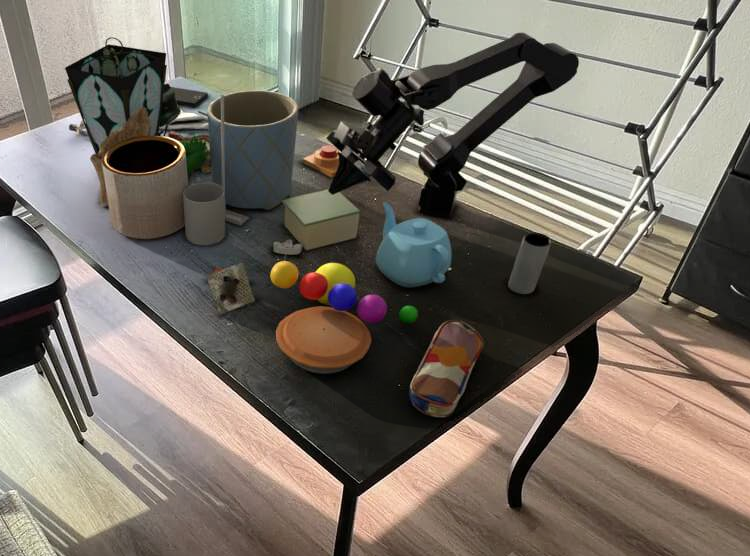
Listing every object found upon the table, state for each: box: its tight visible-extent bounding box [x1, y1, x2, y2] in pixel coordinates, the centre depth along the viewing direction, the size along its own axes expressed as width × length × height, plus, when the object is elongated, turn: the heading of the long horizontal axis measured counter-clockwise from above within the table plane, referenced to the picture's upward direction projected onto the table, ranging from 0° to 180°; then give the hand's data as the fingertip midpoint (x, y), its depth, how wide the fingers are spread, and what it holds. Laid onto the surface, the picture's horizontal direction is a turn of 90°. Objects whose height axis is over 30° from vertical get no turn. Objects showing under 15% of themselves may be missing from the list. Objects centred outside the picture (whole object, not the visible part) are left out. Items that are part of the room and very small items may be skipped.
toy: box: [180, 135, 209, 184], centre depth 150 cm, size 17×9×15 cm, turn 32°
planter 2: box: [206, 89, 299, 211], centre depth 149 cm, size 19×19×20 cm
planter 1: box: [102, 135, 190, 240], centre depth 144 cm, size 18×18×16 cm
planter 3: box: [507, 232, 553, 295], centre depth 121 cm, size 4×4×10 cm
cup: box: [183, 181, 226, 246], centre depth 141 cm, size 8×8×10 cm
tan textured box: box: [206, 262, 256, 316], centre depth 127 cm, size 8×8×6 cm
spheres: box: [269, 260, 419, 324], centre depth 118 cm, size 25×8×17 cm
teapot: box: [375, 201, 452, 288], centre depth 127 cm, size 13×11×18 cm
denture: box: [167, 130, 184, 140], centre depth 173 cm, size 6×4×8 cm
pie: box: [275, 305, 372, 375], centre depth 113 cm, size 16×16×5 cm
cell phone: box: [170, 86, 209, 107], centre depth 199 cm, size 9×18×1 cm, turn 62°
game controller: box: [272, 239, 303, 261], centre depth 134 cm, size 6×12×3 cm, turn 2°
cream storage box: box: [284, 205, 360, 251], centre depth 140 cm, size 11×10×6 cm
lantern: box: [64, 36, 168, 154], centre depth 160 cm, size 17×17×30 cm
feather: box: [169, 126, 193, 135], centre depth 169 cm, size 2×28×2 cm
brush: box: [220, 93, 250, 226], centre depth 140 cm, size 4×28×9 cm
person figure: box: [68, 119, 88, 137], centre depth 184 cm, size 12×15×3 cm
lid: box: [281, 188, 361, 227], centre depth 138 cm, size 12×10×1 cm
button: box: [320, 144, 337, 158], centre depth 161 cm, size 4×4×2 cm
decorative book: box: [177, 132, 211, 174], centre depth 165 cm, size 13×18×5 cm
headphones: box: [159, 83, 182, 137], centre depth 173 cm, size 13×13×20 cm
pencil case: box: [409, 319, 485, 418], centre depth 106 cm, size 11×20×5 cm, turn 163°
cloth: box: [159, 108, 208, 130], centre depth 187 cm, size 26×14×2 cm, turn 38°
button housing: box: [302, 148, 341, 179], centre depth 162 cm, size 10×7×3 cm
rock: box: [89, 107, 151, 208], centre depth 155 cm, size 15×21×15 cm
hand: (330, 193), depth 137 cm, fingers closed
